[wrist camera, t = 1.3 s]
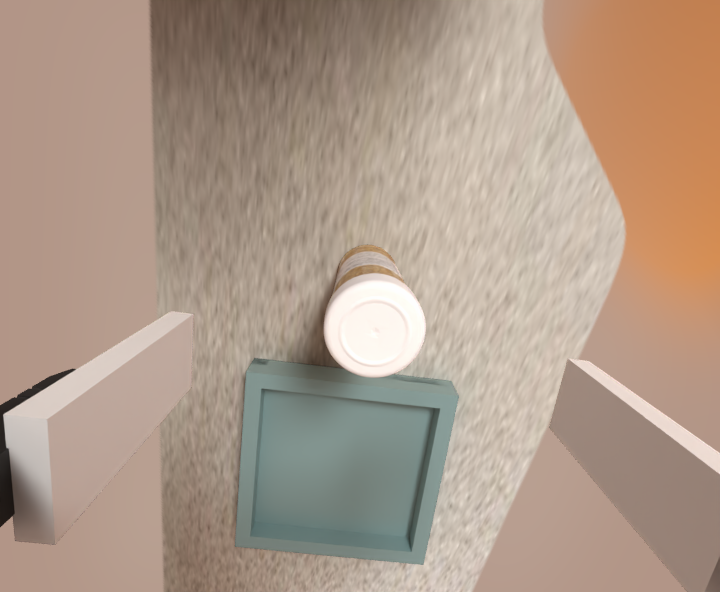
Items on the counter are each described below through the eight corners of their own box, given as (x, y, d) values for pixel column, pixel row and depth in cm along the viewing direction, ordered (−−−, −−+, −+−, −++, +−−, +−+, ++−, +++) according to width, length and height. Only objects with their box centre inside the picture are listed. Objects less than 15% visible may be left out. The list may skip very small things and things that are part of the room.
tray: (254, 358, 32) (246, 371, 29) (451, 381, 32) (458, 396, 30) (243, 522, 36) (234, 546, 33) (418, 540, 36) (423, 564, 34)
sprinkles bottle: (384, 310, 31) (404, 394, 18) (328, 290, 31) (308, 362, 18) (406, 255, 30) (444, 302, 17) (348, 234, 29) (342, 266, 16)
